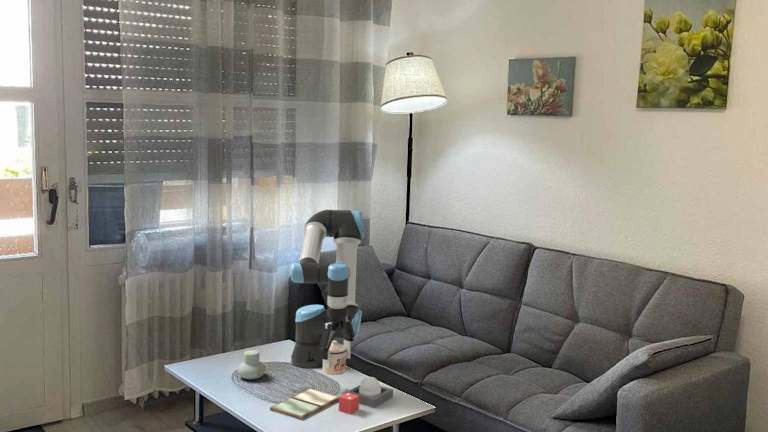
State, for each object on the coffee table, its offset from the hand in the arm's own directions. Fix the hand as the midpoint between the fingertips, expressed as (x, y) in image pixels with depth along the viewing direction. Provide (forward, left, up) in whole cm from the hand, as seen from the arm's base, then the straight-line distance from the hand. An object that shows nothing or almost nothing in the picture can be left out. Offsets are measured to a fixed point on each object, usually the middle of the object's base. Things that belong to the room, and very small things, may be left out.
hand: (336, 362), depth 275 cm
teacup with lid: (0, 0, -3) cm, 3 cm away
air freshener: (+9, -34, -11) cm, 37 cm away
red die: (+13, +15, -10) cm, 23 cm away
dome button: (0, +15, -9) cm, 18 cm away
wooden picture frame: (+18, 0, -10) cm, 21 cm away
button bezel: (0, +15, -10) cm, 18 cm away
